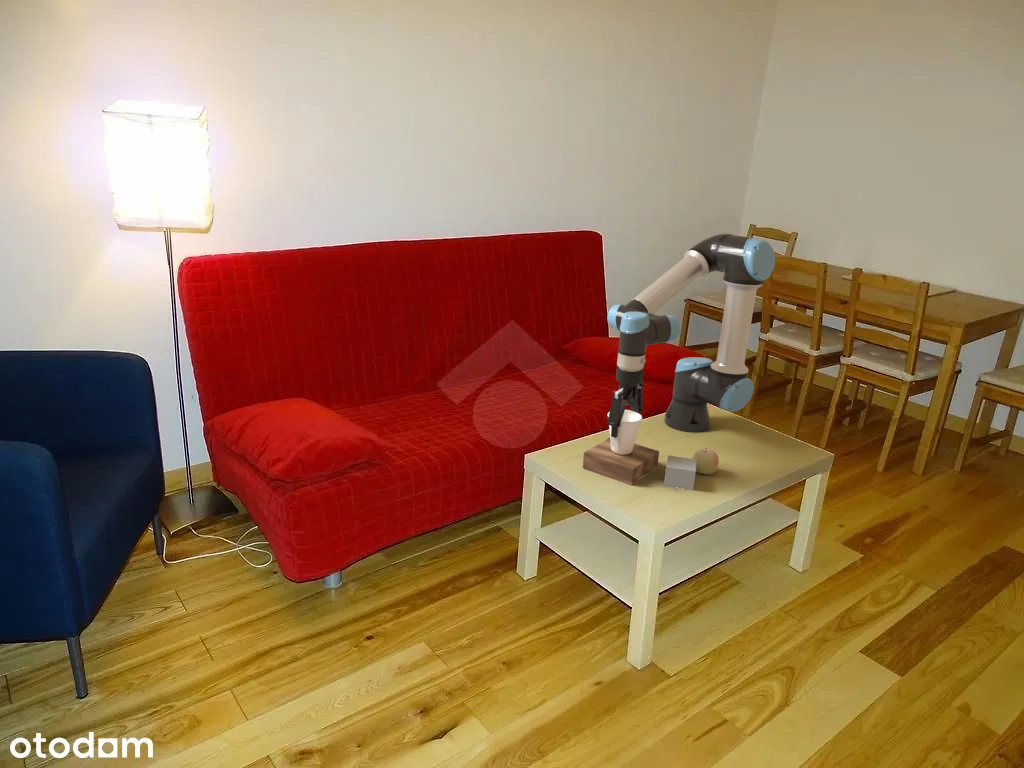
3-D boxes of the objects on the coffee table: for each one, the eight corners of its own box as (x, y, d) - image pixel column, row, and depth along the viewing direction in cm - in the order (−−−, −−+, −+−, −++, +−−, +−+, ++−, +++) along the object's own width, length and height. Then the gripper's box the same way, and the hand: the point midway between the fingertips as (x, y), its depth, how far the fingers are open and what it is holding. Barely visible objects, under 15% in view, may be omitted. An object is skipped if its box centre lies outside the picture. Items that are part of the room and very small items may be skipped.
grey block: (665, 474, 207) (668, 455, 205) (694, 478, 205) (696, 459, 203) (663, 486, 199) (666, 466, 197) (692, 490, 197) (695, 471, 196)
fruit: (709, 480, 204) (713, 454, 201) (686, 472, 208) (689, 447, 206) (721, 472, 209) (725, 447, 206) (699, 464, 214) (702, 439, 211)
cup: (597, 448, 209) (600, 413, 205) (622, 441, 214) (625, 407, 211) (620, 460, 201) (624, 424, 198) (645, 453, 207) (649, 418, 203)
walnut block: (610, 451, 220) (611, 436, 218) (657, 466, 211) (659, 451, 209) (582, 468, 208) (583, 452, 206) (631, 485, 199) (633, 469, 197)
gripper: (623, 379, 189) (615, 457, 196) (660, 362, 205) (652, 433, 213) (598, 373, 193) (592, 449, 200) (637, 356, 210) (629, 427, 217)
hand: (623, 441), depth 207 cm, fingers closed on cup, 9 cm apart
